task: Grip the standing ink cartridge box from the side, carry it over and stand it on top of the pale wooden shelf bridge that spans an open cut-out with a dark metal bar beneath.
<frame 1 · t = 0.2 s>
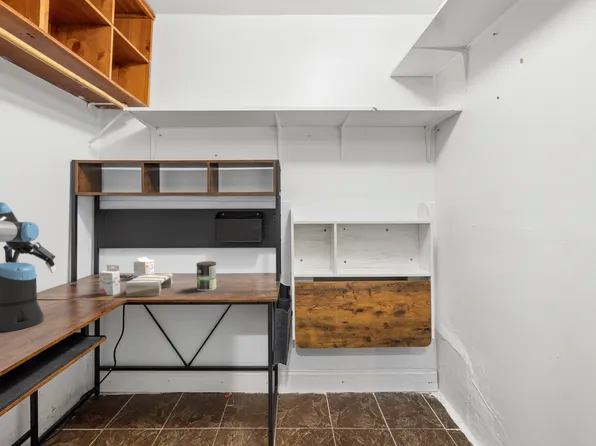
hand: (39, 271, 147), 15 cm above the table, tool tilted 35°, fingers open, 13 cm apart
shelf bridge: (150, 290, 168), on the table
coffee can: (206, 288, 171), on the table
ink cartridge box: (110, 294, 163), on the table
ink box: (144, 279, 197), on the table
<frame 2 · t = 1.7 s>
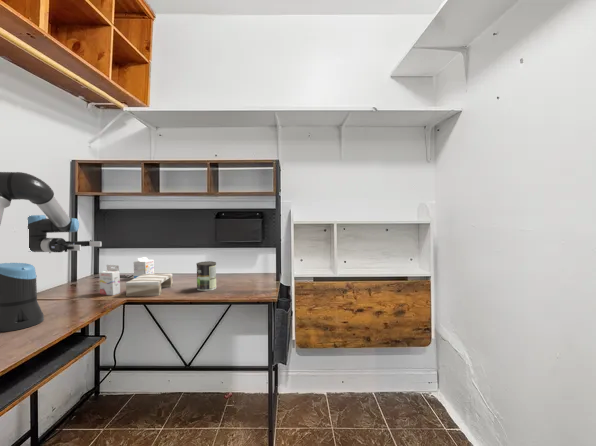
hand: (91, 245, 162), 25 cm above the table, tool horizontal, fingers open, 13 cm apart
nothing on the table moved.
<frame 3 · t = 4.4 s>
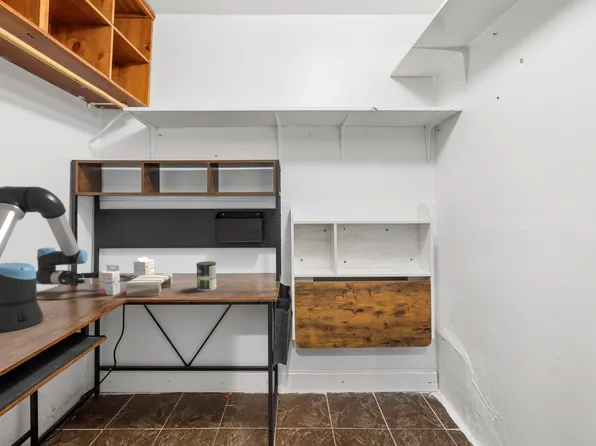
hand: (101, 278, 163), 8 cm above the table, tool horizontal, fingers open, 13 cm apart
nothing on the table moved.
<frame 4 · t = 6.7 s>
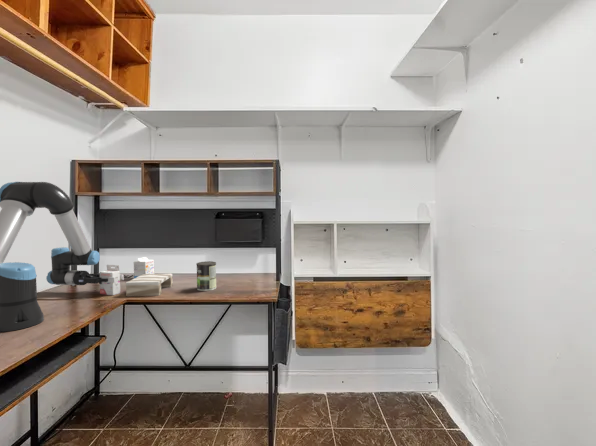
hand: (118, 278, 161), 8 cm above the table, tool horizontal, fingers closed on ink cartridge box, 6 cm apart
ink cartridge box: (110, 294, 163), on the table, touching gripper
everything else where it was.
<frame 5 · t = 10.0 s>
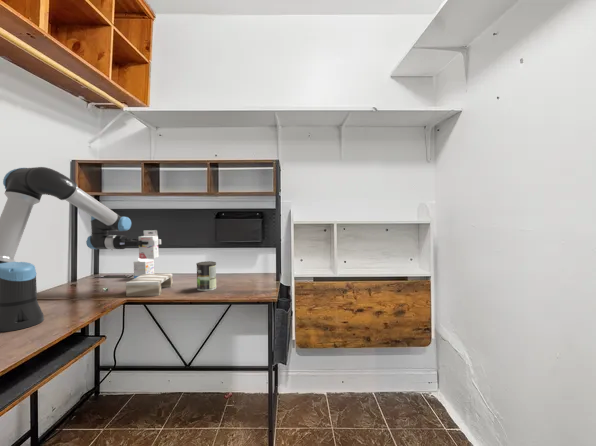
hand: (157, 242, 166), 26 cm above the table, tool horizontal, fingers closed on ink cartridge box, 5 cm apart
ink cartridge box: (149, 258, 167), point 17 cm above the table, touching gripper
everything else where it was.
when the fingers open (16 cm above the table, at t = 12.6 s): ink cartridge box drops 1 cm, resting on shelf bridge.
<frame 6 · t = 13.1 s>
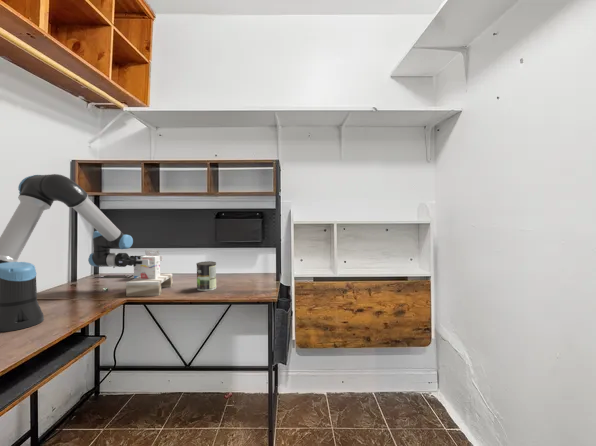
hand: (156, 260, 166), 16 cm above the table, tool horizontal, fingers open, 12 cm apart
ink cartridge box: (150, 278, 167), point 7 cm above the table, touching shelf bridge
everything else where it was.
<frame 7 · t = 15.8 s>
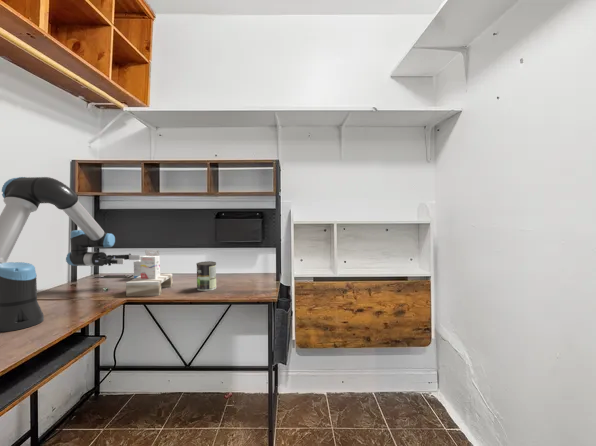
hand: (132, 259, 168), 17 cm above the table, tool horizontal, fingers open, 13 cm apart
nothing on the table moved.
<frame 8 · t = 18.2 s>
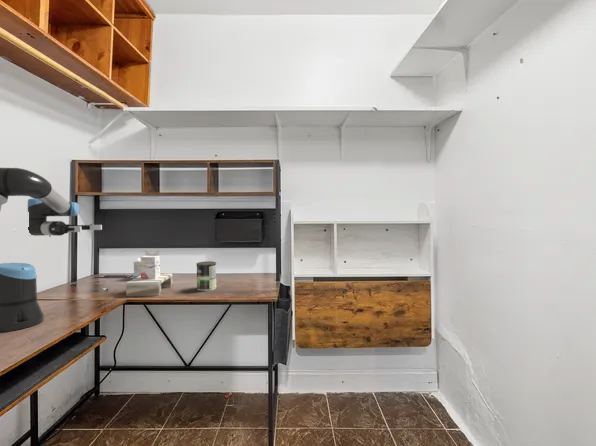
hand: (91, 228, 162), 34 cm above the table, tool horizontal, fingers open, 13 cm apart
nothing on the table moved.
at the end: ink cartridge box inside the target area (0.1 cm from its centre), point 6.8 cm above the table; ink cartridge box tilted 0°; the gripper is holding nothing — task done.
